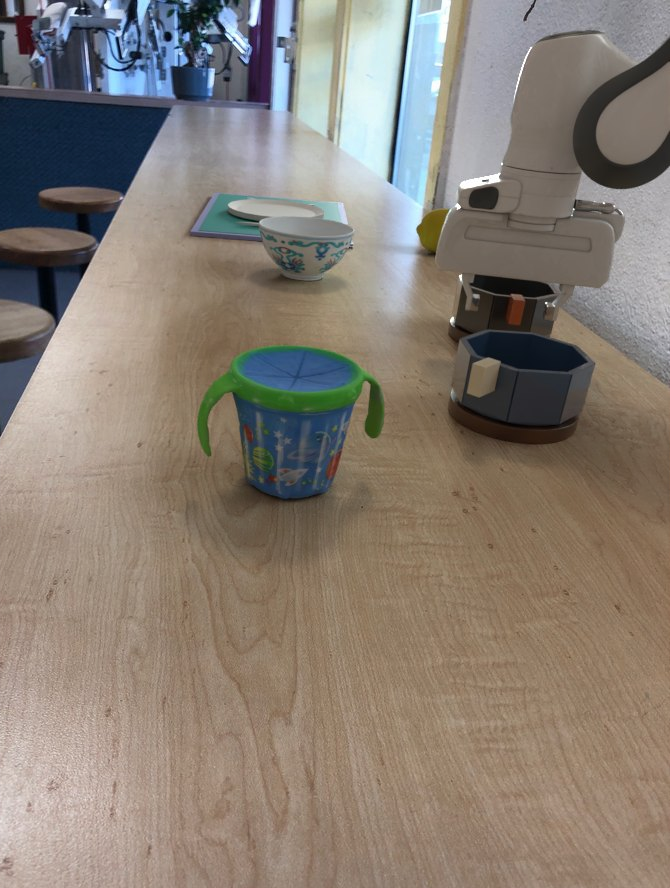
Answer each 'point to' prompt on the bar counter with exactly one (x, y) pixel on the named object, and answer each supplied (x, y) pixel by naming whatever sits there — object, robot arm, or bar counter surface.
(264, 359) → the snack cup
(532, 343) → the slate bowl
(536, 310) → the dark grey octagonal pot
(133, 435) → the bar counter surface
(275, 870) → the bar counter surface
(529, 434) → the disc
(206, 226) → the place mat
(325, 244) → the chinaware
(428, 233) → the lemon
